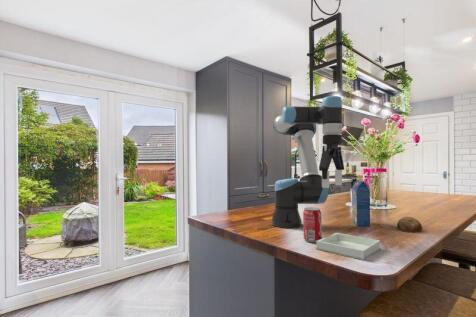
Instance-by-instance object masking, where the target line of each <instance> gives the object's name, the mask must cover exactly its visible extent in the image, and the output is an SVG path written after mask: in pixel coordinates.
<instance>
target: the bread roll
mask: <svg viewBox="0 0 476 317" xmlns="http://www.w3.org/2000/svg"><path fill="white" fill-rule="evenodd" d="M396 228H397V229H396V230H398V231H400V232H404V233H405V232H406V233H411V232H412V233H415V234H417V233H422V231H423V226H422V224H421V222H420V221H419V220H418V219H417V218H414V217H411V216H405V217H404V216H403V217H402V218H400V219H398V221H397V224H396ZM416 232H417V233H416Z"/></svg>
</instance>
